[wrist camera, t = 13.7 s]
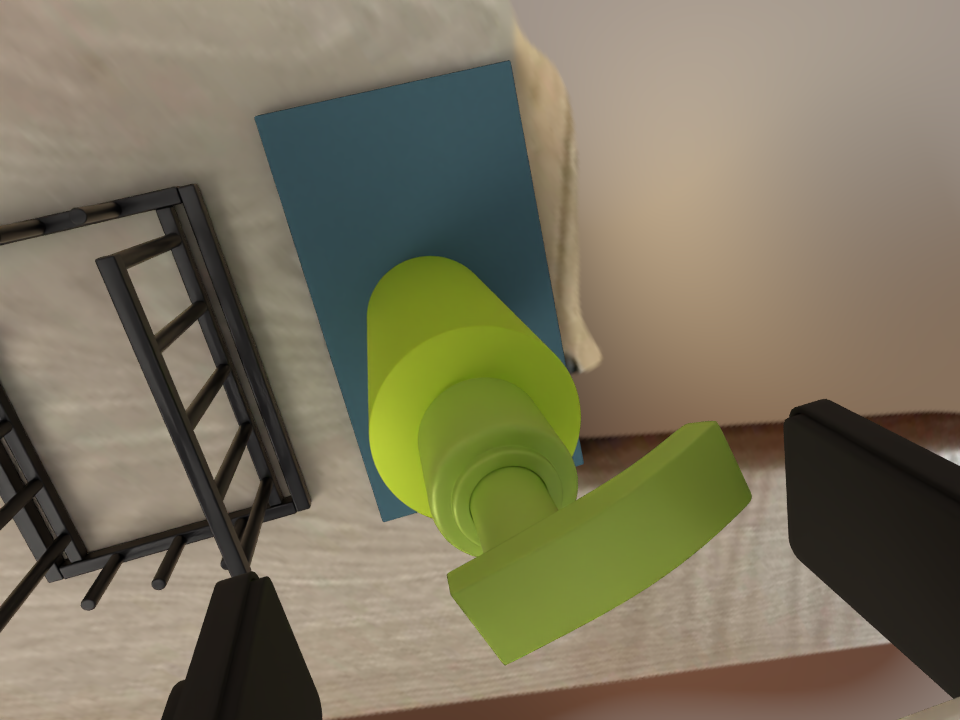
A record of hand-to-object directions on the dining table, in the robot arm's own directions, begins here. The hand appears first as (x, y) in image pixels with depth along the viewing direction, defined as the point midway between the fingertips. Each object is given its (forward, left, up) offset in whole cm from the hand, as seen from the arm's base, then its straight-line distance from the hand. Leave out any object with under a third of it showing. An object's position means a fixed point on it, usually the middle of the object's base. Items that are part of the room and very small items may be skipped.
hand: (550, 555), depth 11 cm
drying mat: (0, 0, -20) cm, 20 cm away
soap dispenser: (0, 0, -20) cm, 20 cm away
